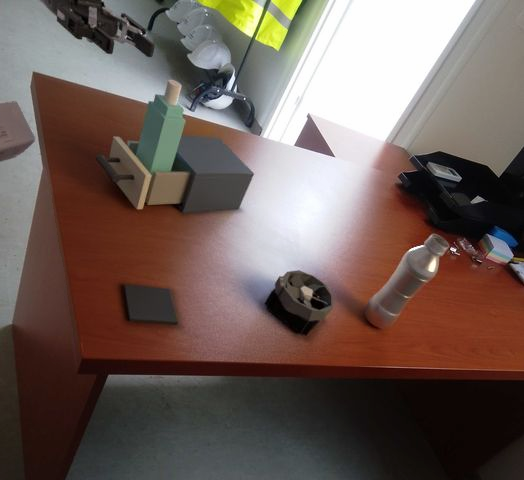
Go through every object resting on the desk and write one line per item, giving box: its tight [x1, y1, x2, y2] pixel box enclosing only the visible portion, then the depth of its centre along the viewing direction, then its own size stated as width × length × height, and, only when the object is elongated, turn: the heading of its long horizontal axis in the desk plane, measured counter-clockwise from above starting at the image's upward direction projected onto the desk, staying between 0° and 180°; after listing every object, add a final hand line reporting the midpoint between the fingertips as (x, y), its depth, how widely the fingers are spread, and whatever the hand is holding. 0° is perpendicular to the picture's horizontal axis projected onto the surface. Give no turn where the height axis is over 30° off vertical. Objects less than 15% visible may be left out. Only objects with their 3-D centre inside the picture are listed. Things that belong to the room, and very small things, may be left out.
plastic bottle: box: [364, 233, 450, 329], centre depth 84 cm, size 6×7×20 cm
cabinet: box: [175, 134, 255, 214], centre depth 91 cm, size 15×13×9 cm
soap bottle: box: [136, 79, 187, 193], centre depth 79 cm, size 4×5×18 cm
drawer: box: [95, 136, 193, 210], centre depth 83 cm, size 18×11×7 cm, turn 132°
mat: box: [123, 283, 179, 325], centre depth 67 cm, size 7×7×1 cm
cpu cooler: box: [264, 269, 335, 337], centre depth 79 cm, size 10×6×10 cm
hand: (132, 49), depth 75 cm, fingers open, 8 cm apart
